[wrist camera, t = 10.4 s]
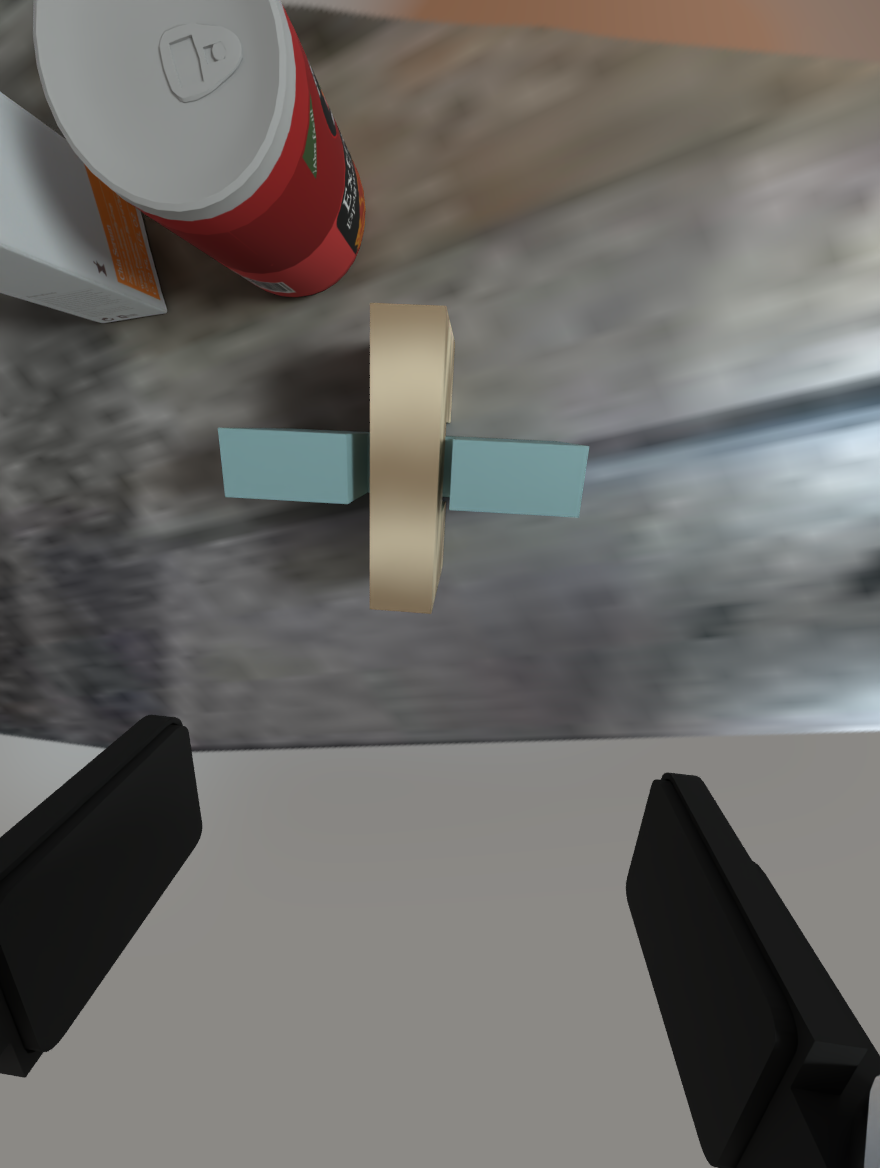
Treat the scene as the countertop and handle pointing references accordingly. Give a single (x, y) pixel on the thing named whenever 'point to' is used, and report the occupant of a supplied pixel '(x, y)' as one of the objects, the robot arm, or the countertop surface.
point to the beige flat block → (408, 452)
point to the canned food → (208, 130)
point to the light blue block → (342, 470)
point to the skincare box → (68, 229)
